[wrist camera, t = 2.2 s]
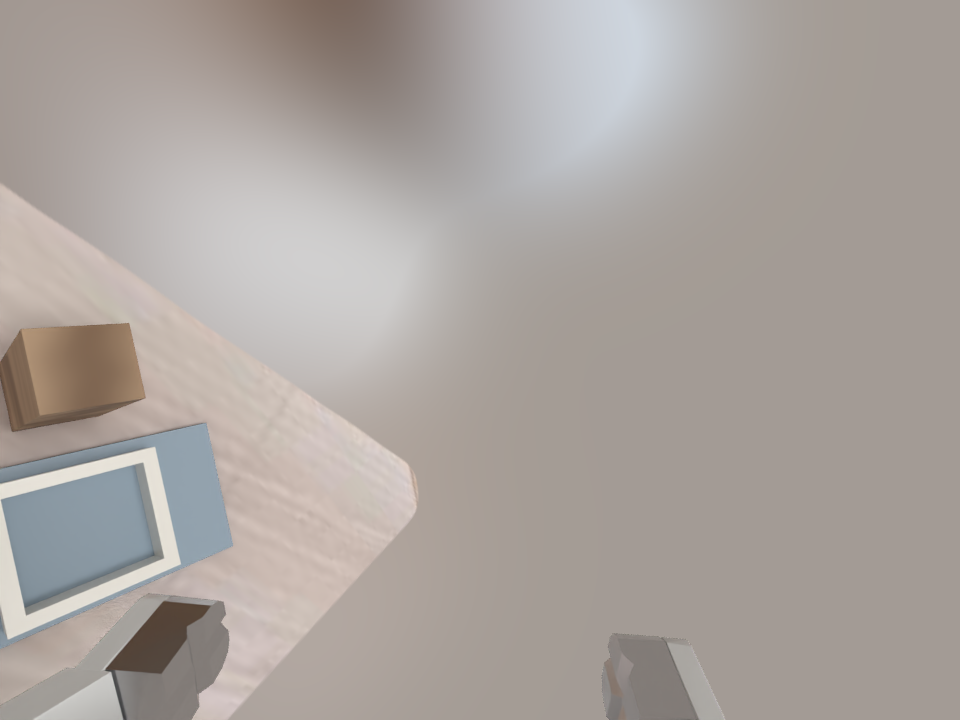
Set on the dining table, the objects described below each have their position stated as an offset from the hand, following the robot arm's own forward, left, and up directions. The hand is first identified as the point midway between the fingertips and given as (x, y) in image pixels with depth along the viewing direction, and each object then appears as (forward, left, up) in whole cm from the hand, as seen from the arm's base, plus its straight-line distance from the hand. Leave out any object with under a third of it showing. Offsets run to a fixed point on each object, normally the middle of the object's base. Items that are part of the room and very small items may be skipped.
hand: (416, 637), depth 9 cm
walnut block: (+1, +10, -40) cm, 42 cm away
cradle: (+3, -1, -40) cm, 40 cm away
